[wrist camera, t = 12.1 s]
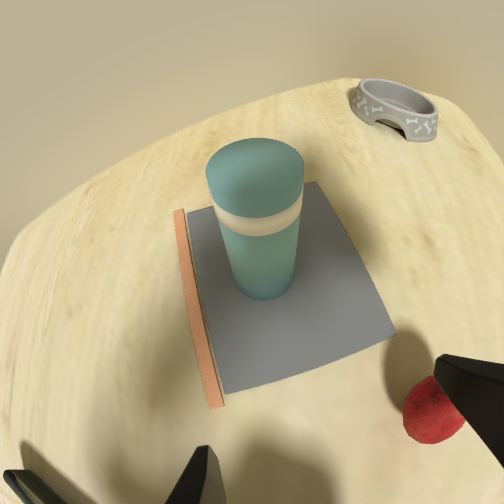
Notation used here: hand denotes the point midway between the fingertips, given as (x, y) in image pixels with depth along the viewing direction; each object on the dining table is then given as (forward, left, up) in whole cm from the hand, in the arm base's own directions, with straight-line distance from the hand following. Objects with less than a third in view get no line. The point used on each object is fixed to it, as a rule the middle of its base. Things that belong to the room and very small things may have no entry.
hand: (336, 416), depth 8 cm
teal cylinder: (+9, +9, -13) cm, 19 cm away
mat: (+11, +8, -14) cm, 19 cm away
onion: (+4, -10, -14) cm, 18 cm away
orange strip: (+4, +14, -14) cm, 20 cm away
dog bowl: (+51, +4, -14) cm, 53 cm away
